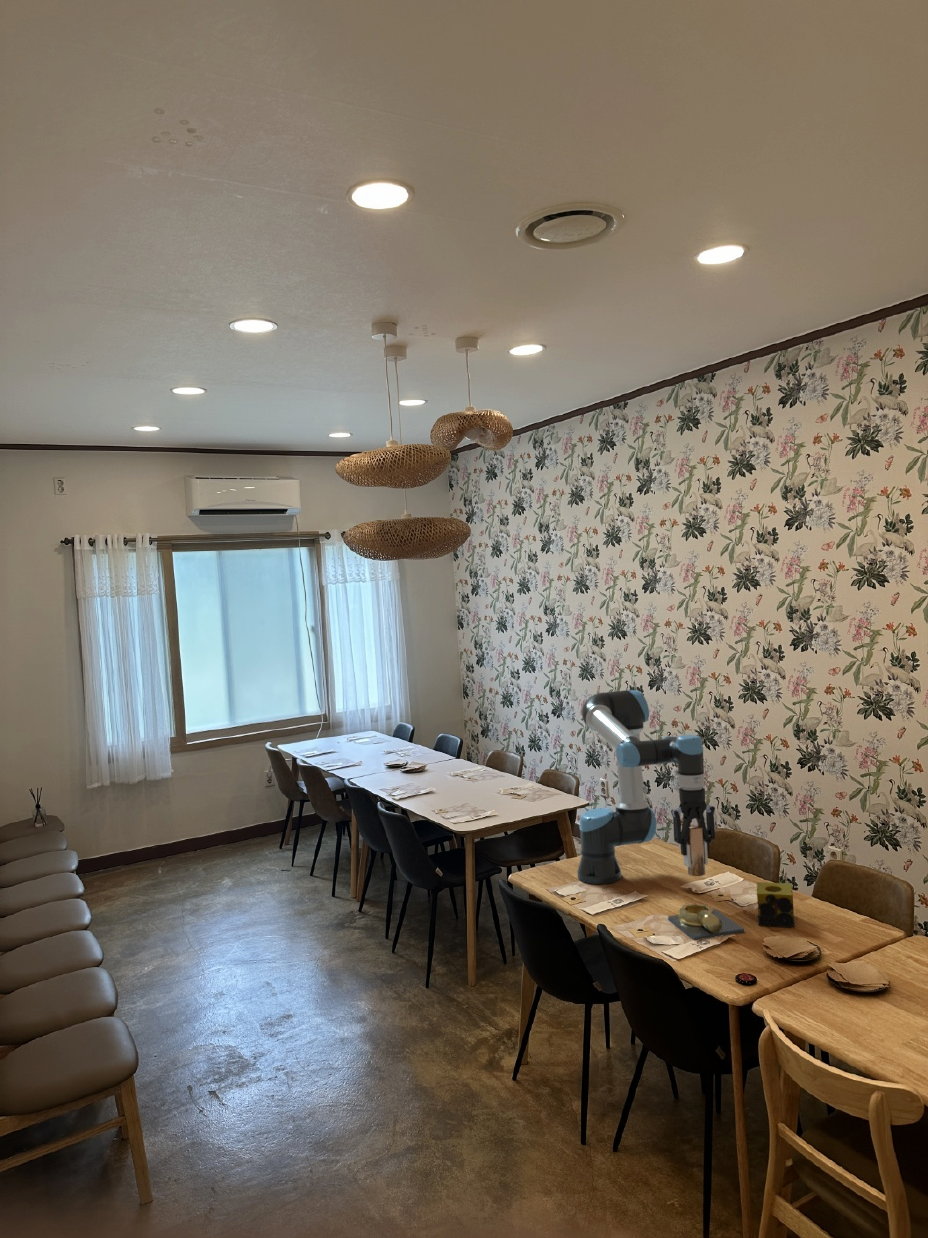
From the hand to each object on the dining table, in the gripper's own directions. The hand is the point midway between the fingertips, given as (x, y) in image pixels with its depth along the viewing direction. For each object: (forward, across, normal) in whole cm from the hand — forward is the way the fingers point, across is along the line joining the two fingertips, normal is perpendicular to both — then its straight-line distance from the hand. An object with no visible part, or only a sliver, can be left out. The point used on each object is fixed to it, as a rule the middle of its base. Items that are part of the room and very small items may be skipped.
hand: (696, 864), depth 254 cm
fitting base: (+17, 0, -4) cm, 18 cm away
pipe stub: (+3, 0, 0) cm, 3 cm away
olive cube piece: (+18, +21, -8) cm, 28 cm away
